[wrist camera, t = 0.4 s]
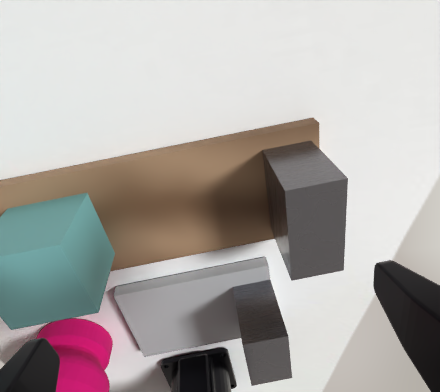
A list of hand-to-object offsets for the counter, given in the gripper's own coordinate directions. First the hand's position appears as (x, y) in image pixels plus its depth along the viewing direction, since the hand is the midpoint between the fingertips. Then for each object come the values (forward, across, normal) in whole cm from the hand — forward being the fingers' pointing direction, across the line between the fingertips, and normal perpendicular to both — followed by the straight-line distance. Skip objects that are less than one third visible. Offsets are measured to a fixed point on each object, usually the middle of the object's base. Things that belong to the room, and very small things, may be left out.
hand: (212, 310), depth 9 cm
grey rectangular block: (+13, +3, +14) cm, 20 cm away
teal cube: (+12, +10, +4) cm, 16 cm away
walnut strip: (+13, +3, +4) cm, 14 cm away
